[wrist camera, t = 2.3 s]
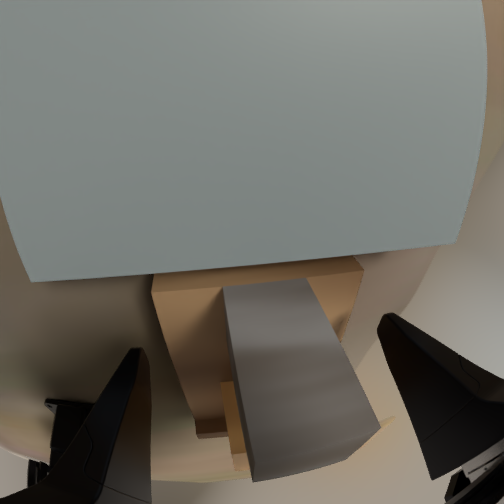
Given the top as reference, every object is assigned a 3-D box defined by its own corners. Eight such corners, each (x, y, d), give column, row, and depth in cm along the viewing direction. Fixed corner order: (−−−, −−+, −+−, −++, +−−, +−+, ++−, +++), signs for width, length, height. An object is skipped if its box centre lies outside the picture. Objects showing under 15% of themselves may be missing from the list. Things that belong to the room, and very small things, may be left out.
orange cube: (288, 404, 16) (305, 458, 12) (225, 413, 15) (235, 471, 12) (297, 370, 13) (320, 437, 10) (220, 382, 13) (231, 454, 9)
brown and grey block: (304, 383, 19) (339, 481, 12) (195, 399, 17) (207, 506, 11) (341, 242, 12) (450, 392, 5) (157, 257, 11) (138, 467, 4)
